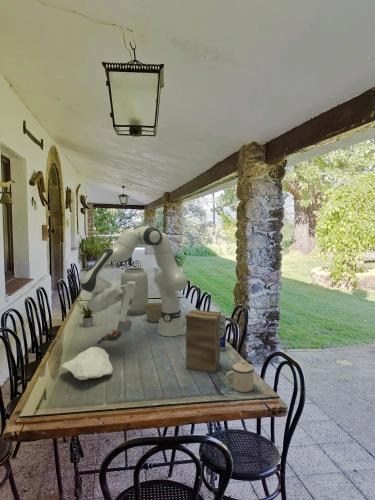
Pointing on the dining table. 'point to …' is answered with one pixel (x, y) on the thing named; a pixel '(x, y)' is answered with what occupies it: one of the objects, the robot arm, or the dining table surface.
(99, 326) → the dining table surface
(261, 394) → the dining table surface
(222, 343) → the milk carton
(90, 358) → the crumpled cloth
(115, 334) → the walkie-talkie
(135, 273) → the vase
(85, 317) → the house plant
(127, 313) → the power strip
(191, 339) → the stand
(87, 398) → the dining table surface
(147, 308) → the planter bowl
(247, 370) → the teacup with lid
